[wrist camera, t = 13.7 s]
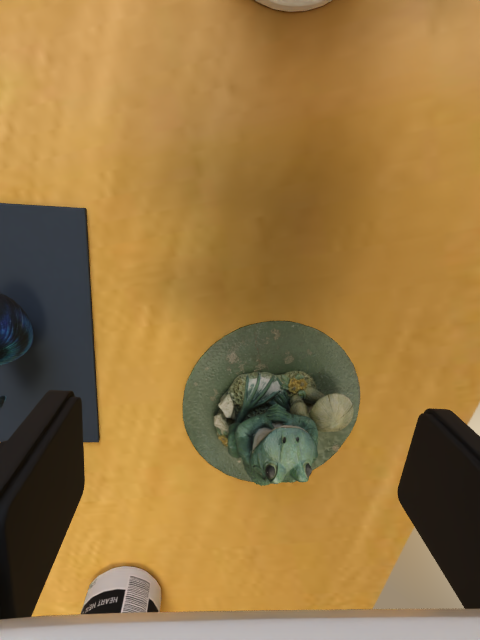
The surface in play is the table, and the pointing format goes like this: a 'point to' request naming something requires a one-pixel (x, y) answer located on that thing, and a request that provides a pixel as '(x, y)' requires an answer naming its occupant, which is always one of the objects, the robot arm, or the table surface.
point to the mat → (48, 311)
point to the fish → (13, 332)
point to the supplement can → (123, 592)
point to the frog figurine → (271, 402)
